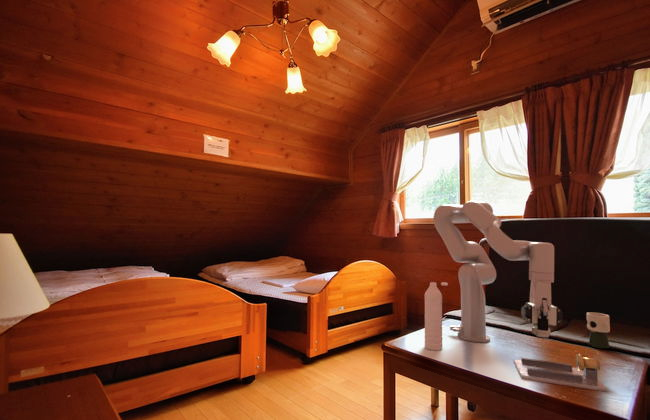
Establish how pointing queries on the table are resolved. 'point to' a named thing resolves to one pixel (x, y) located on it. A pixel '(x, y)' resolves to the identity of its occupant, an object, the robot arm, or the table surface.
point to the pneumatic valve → (532, 317)
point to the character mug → (598, 329)
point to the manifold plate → (562, 372)
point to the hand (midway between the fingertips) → (540, 327)
